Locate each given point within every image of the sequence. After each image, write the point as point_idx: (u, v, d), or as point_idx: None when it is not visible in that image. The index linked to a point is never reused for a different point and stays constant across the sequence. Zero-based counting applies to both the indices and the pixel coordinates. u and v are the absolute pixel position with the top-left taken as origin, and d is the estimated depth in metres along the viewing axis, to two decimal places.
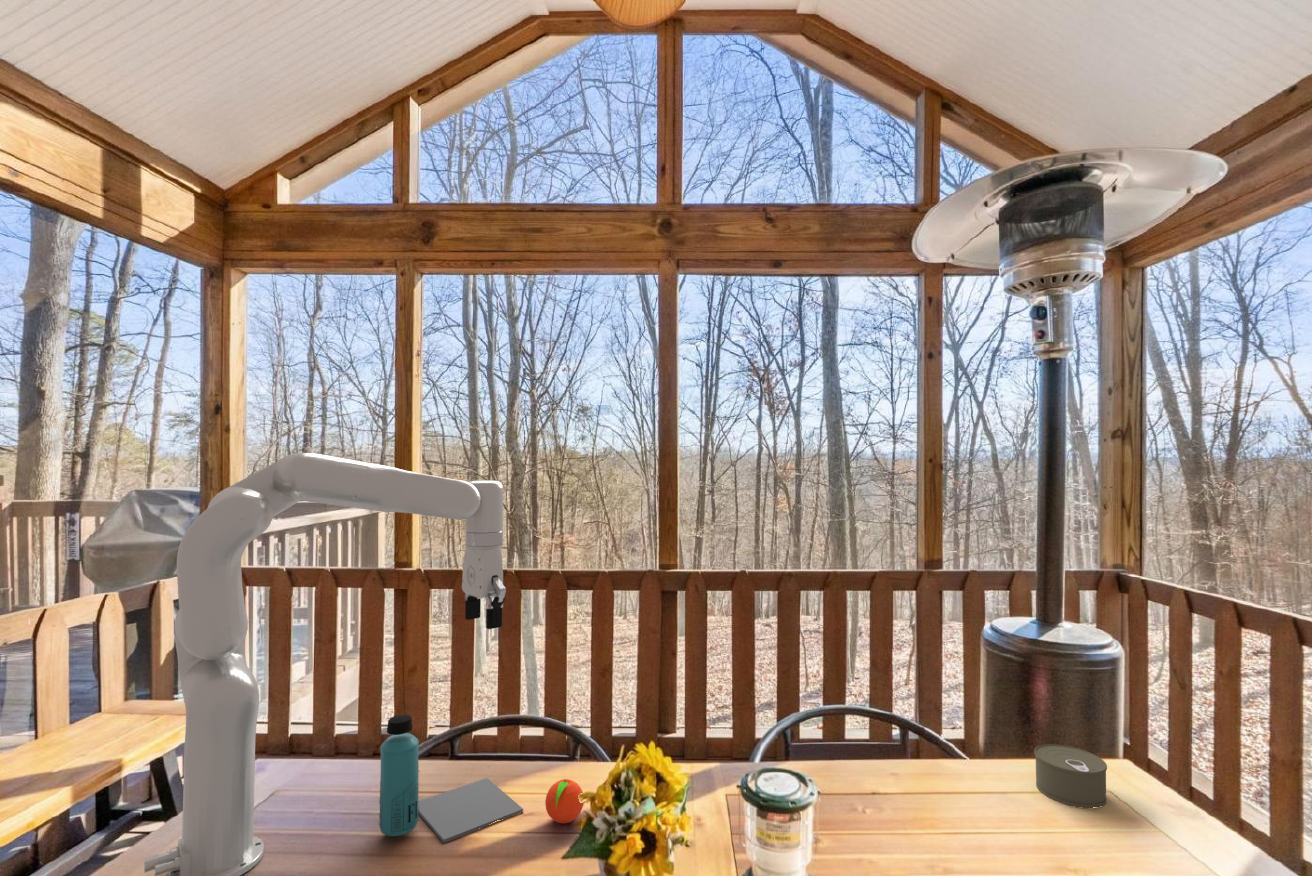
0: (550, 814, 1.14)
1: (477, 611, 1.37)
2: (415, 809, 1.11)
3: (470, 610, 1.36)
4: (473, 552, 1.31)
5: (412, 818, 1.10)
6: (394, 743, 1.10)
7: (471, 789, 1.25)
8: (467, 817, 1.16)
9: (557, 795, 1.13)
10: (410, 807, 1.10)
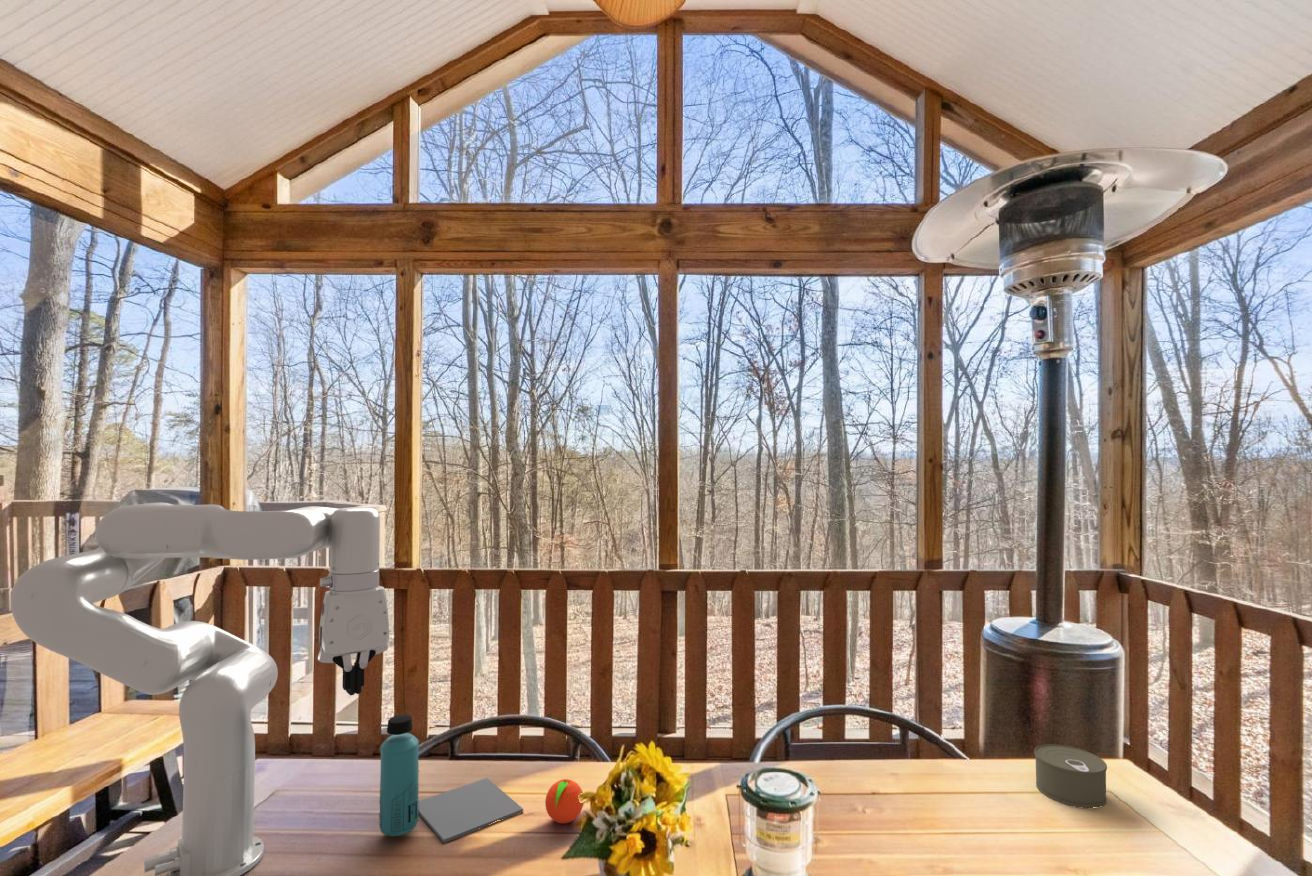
0: (550, 814, 1.14)
1: None
2: (415, 809, 1.11)
3: None
4: (364, 596, 1.06)
5: (412, 818, 1.10)
6: (394, 743, 1.10)
7: (471, 789, 1.25)
8: (467, 817, 1.16)
9: (557, 795, 1.13)
10: (410, 807, 1.10)
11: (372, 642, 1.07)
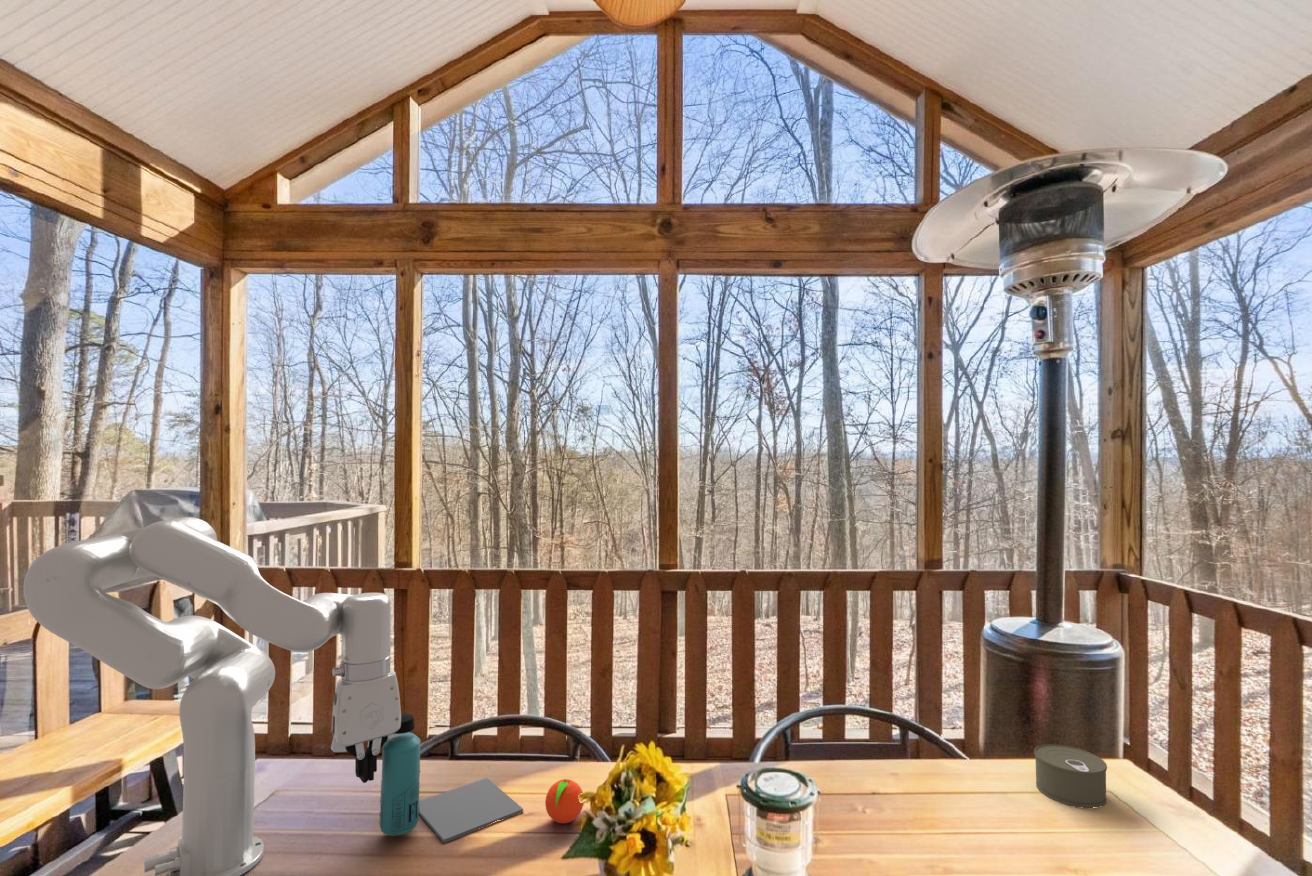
0: (550, 814, 1.14)
1: None
2: (416, 809, 1.11)
3: None
4: (376, 684, 1.07)
5: (412, 817, 1.10)
6: (396, 742, 1.10)
7: (471, 789, 1.25)
8: (467, 817, 1.16)
9: (557, 795, 1.13)
10: (411, 807, 1.10)
11: (384, 729, 1.07)
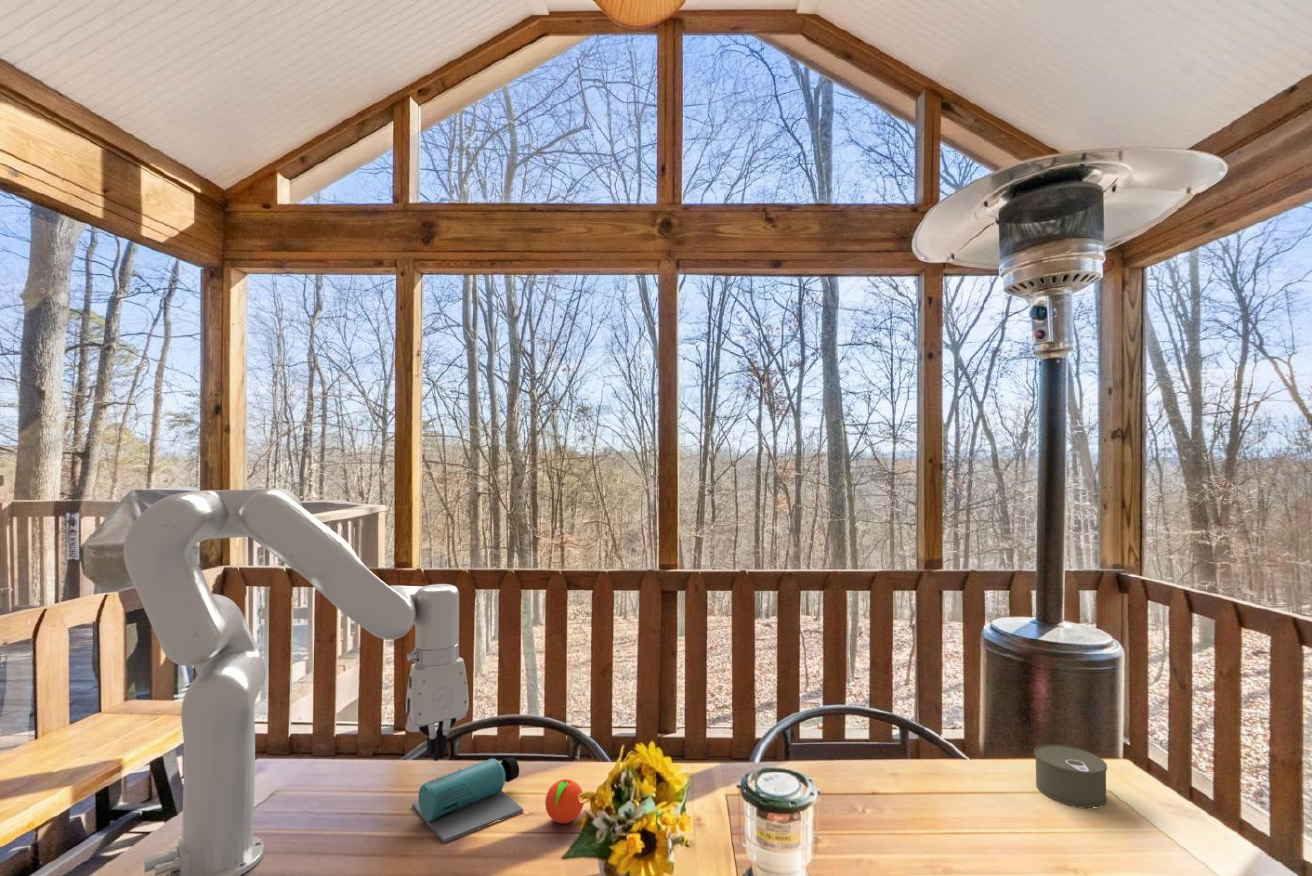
0: (550, 814, 1.14)
1: None
2: (448, 812, 1.15)
3: None
4: (447, 669, 1.15)
5: (444, 811, 1.14)
6: (503, 768, 1.24)
7: None
8: (467, 817, 1.16)
9: (557, 795, 1.13)
10: (455, 805, 1.15)
11: (454, 711, 1.15)
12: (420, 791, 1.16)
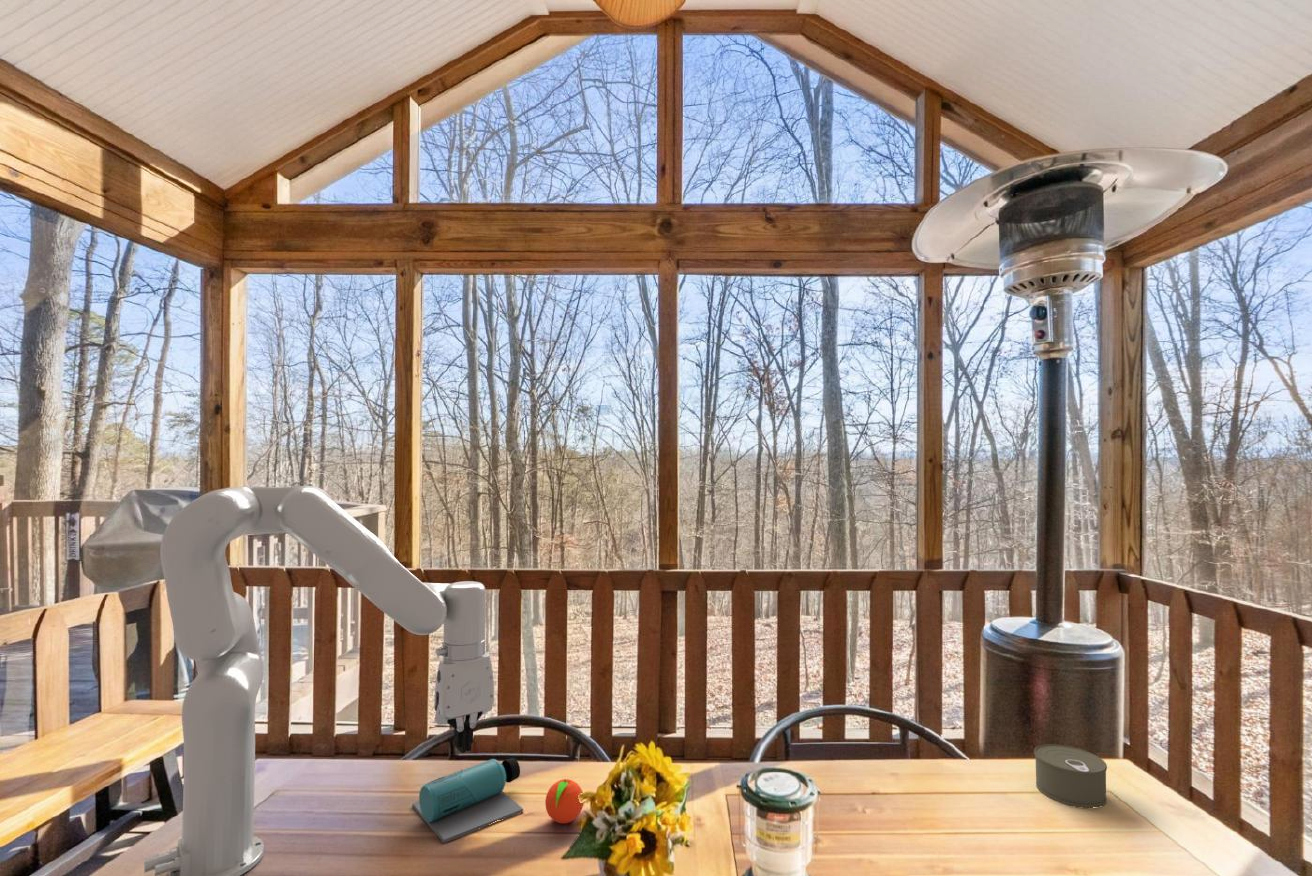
0: (550, 814, 1.14)
1: None
2: (449, 813, 1.15)
3: None
4: (474, 664, 1.18)
5: (444, 813, 1.14)
6: (504, 770, 1.24)
7: None
8: (467, 817, 1.16)
9: (557, 795, 1.13)
10: (455, 807, 1.15)
11: (481, 705, 1.19)
12: (421, 791, 1.16)
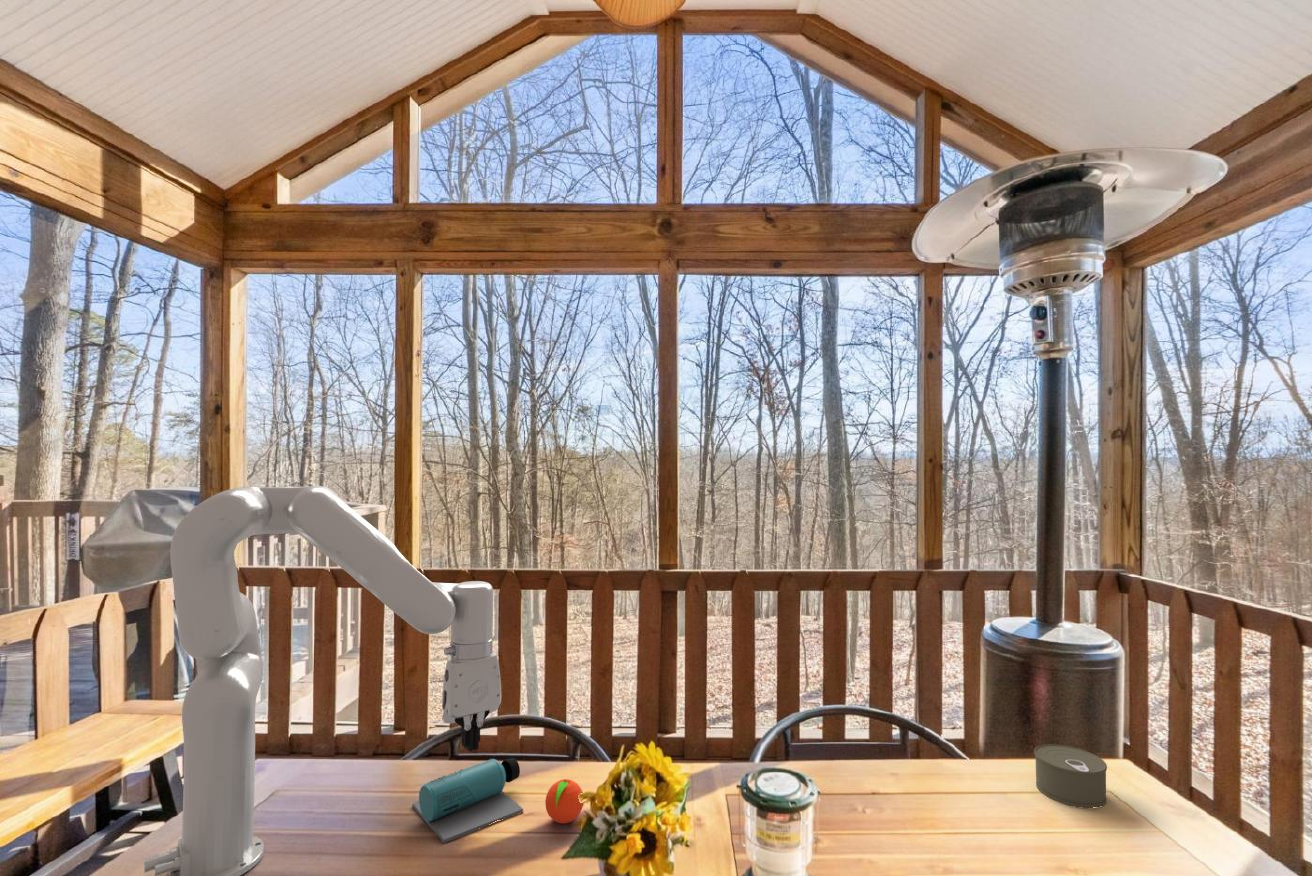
0: (550, 814, 1.14)
1: None
2: (449, 813, 1.15)
3: None
4: (482, 663, 1.19)
5: (444, 812, 1.14)
6: (504, 769, 1.24)
7: None
8: (467, 817, 1.16)
9: (557, 795, 1.13)
10: (455, 806, 1.15)
11: (488, 704, 1.20)
12: (421, 791, 1.16)
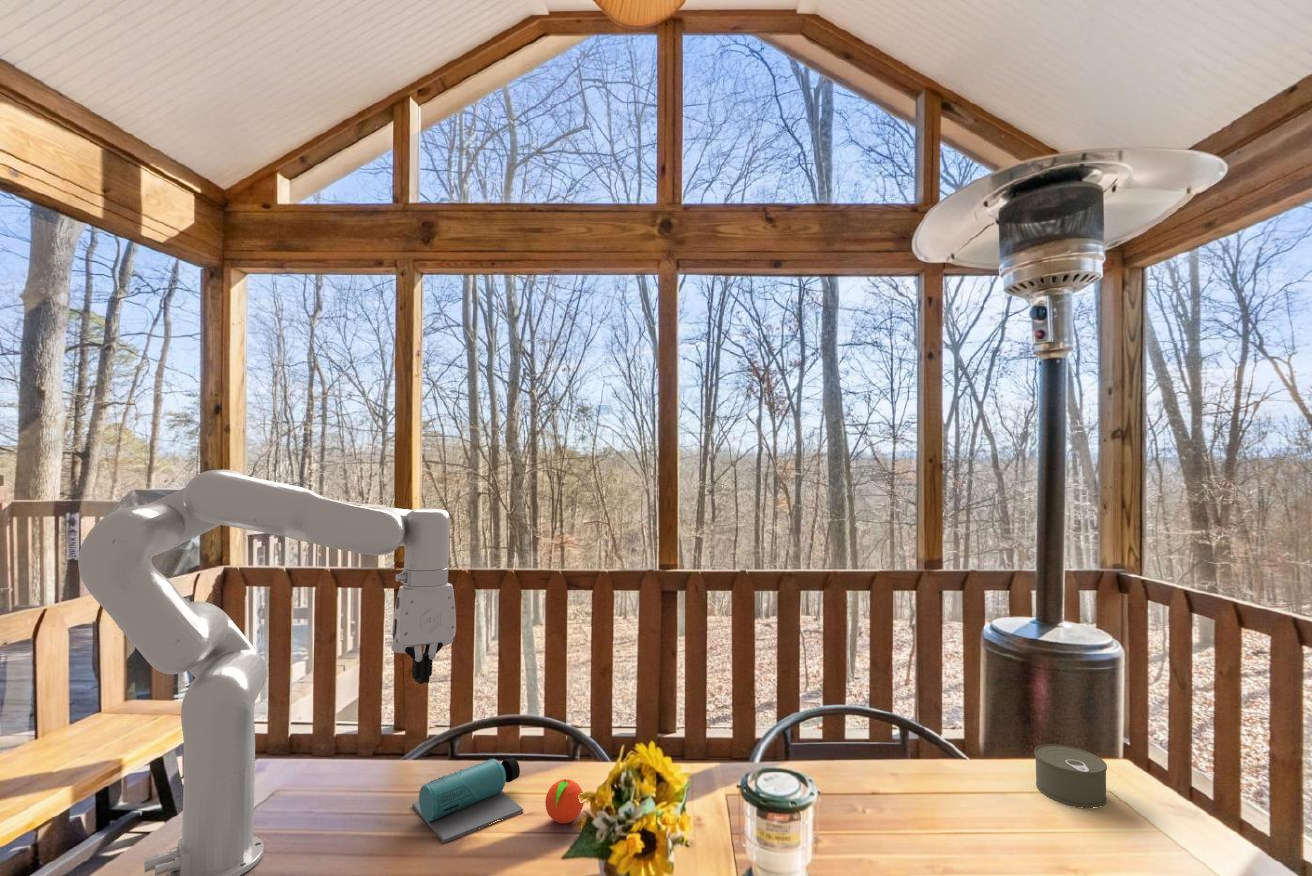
0: (550, 814, 1.14)
1: None
2: (449, 813, 1.15)
3: None
4: (435, 592, 1.14)
5: (444, 812, 1.14)
6: (504, 769, 1.24)
7: None
8: (467, 817, 1.16)
9: (557, 795, 1.13)
10: (455, 806, 1.15)
11: (441, 635, 1.14)
12: (421, 791, 1.16)
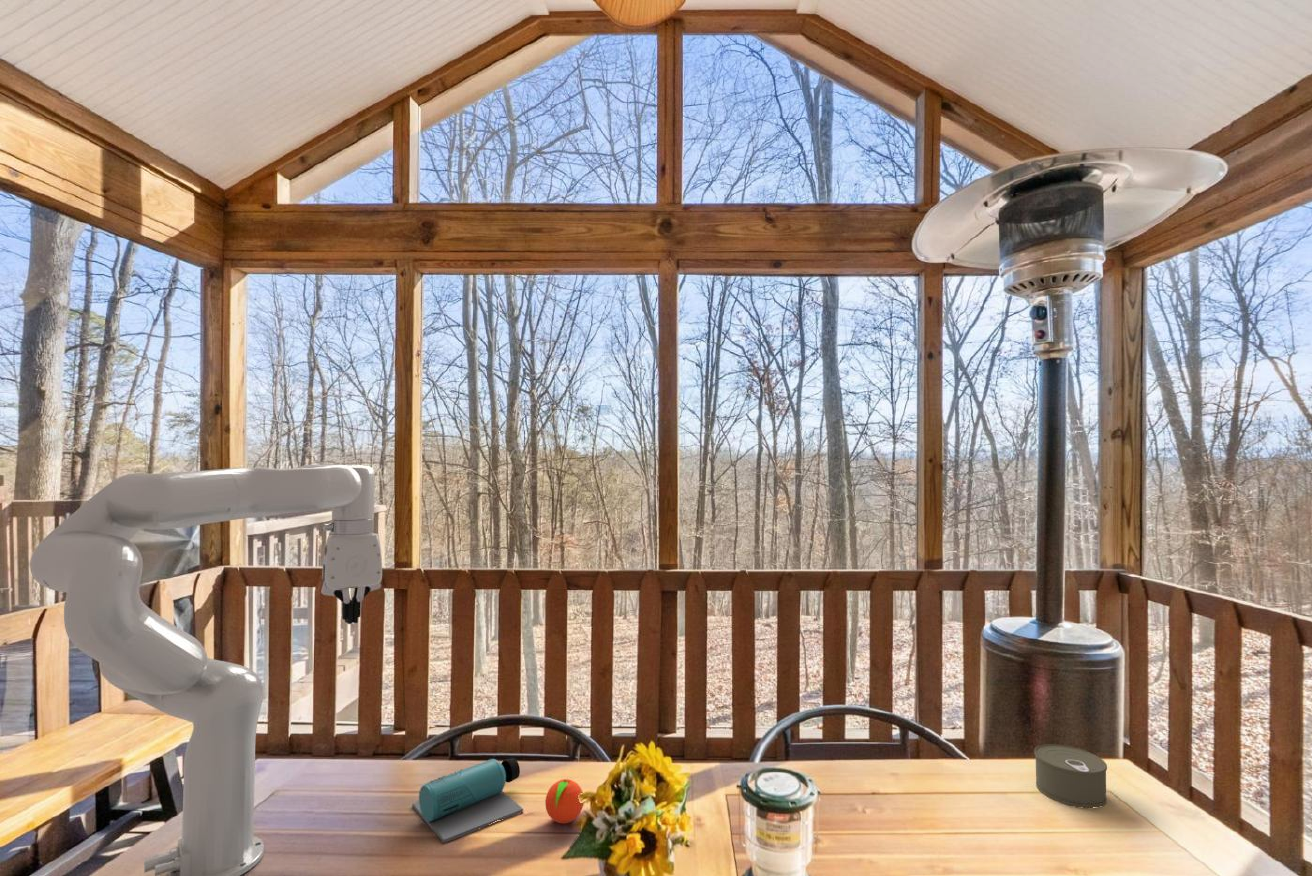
0: (550, 814, 1.14)
1: None
2: (449, 813, 1.15)
3: None
4: (361, 540, 1.25)
5: (444, 812, 1.14)
6: (504, 769, 1.24)
7: None
8: (467, 817, 1.16)
9: (557, 795, 1.13)
10: (455, 806, 1.15)
11: (367, 579, 1.25)
12: (421, 791, 1.16)
